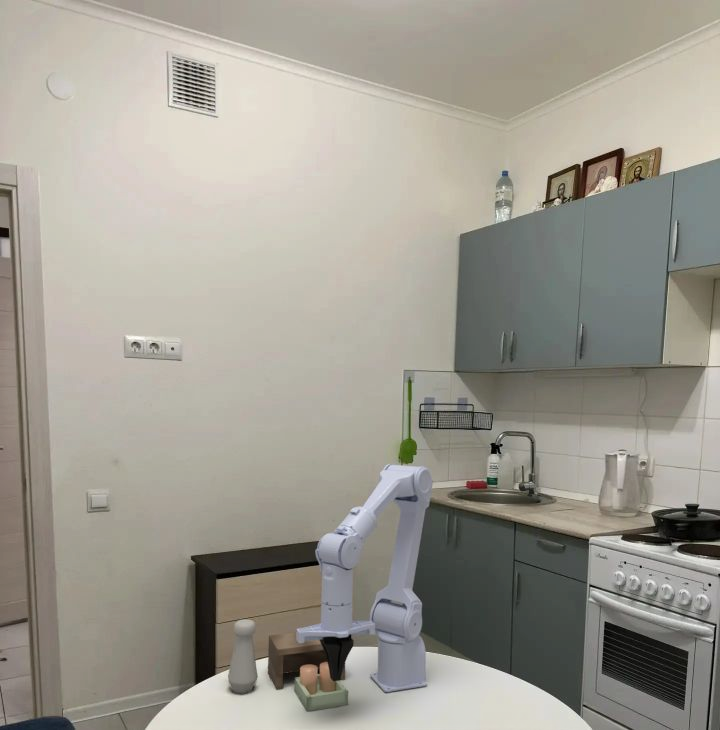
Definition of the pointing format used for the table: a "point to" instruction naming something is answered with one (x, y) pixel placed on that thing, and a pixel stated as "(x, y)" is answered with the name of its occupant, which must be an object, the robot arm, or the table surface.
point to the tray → (321, 696)
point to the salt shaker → (243, 658)
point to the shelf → (292, 656)
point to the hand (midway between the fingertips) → (335, 678)
